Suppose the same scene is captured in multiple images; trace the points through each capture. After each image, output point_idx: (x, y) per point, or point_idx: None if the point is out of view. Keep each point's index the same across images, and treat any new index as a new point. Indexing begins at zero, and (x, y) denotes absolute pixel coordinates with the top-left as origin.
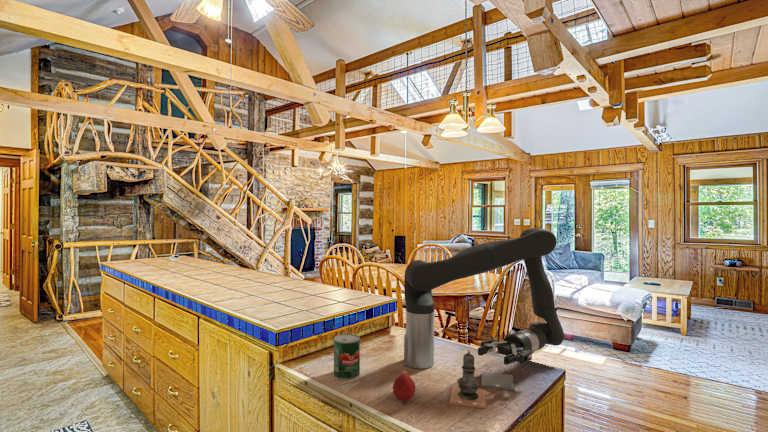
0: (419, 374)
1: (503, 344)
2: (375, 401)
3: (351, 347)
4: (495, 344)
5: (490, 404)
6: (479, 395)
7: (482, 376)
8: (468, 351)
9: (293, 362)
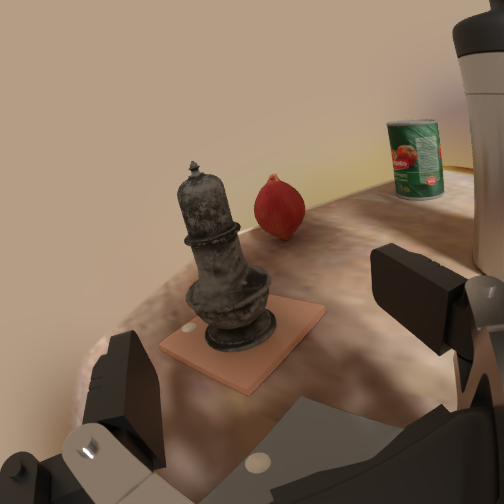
0: (434, 259)
1: (502, 477)
2: (306, 217)
3: (390, 134)
4: (488, 358)
5: (167, 372)
6: (218, 354)
7: (395, 432)
8: (192, 163)
9: (452, 167)
